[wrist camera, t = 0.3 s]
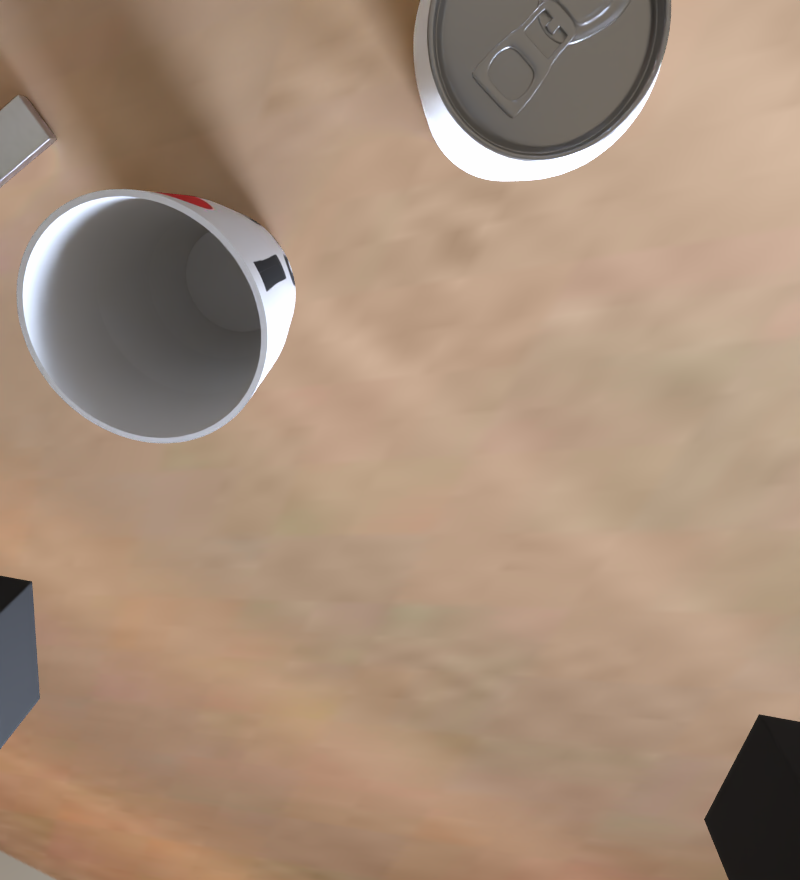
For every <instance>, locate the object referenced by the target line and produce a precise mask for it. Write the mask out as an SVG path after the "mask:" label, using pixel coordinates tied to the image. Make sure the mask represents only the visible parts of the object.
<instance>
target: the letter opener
mask: <svg viewBox="0 0 800 880" xmlns="http://www.w3.org/2000/svg"><path fill="white" fill-rule="evenodd" d="M56 140H57V138H56V137H55V135H54V134H53V133H52V131H51V130H50V129H49V127H48V126H47V124H46V123H45V122H44V120H43V119H42V118H41V116H40V115H39V114H38V112H37V111H36V110H35V108H34V107H33V106H32V104H31V103H30V102H29V100H28V99H27V98H26V97H25V96H21V95H17V96H16V97H15V98H13V99H12V100H11V101H10V102H9V103H8V104H7V105H6V106H4V107H3V108H2V109H1V110H0V188H1V187H2V186H3V185H4V184H5V183H7V182H8V181H9V180H10V179H11V178H12V177H14V176H15V175H16V174H17V173H18V172H19V171H21V170H22V169H23V168H24V167H25V166H27V165H28V164H29V163H30V162H31V161H32V160H34V159H35V158H36V157H37V156H38V155H39V154H41V153H42V152H43V151H44V150H45V149H47V148H48V147H49V146H50V145H51V144H52V143H54V142H55V141H56Z"/></svg>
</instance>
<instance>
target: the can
mask: <svg viewBox="0 0 800 880" xmlns="http://www.w3.org/2000/svg"><path fill="white" fill-rule="evenodd" d="M670 21H671V0H420V4H419V8H418V12H417V17H416V22H415V30H414V44H413V54H414V68H415V76H416V82H417V86H418V91H419V95H420V99H421V102H422V106H423V110H424V113H425V116H426V119H427V122H428V125H429V128H430V130H431V133H432V135H433V137H434V139H435V141H436V143H437V144H438V146H439V147H440V149H441V150H442V152H443V153H444V154H445V155H446V156H447V157H448V159H449V160H451V161H452V162H453V163H454V164H455V165H456V166H458V167H459V168H460V169H462V170H464V171H465V172H467V173H469V174H471V175H474V176H476V177H479V178H483V179H487V180H494V181H526V180H537V179H544V178H549V177H553V176H557V175H560V174H563V173H566V172H569V171H572V170H574V169H576V168H578V167H580V166H582V165H584V164H586V163H588V162H589V161H591V160H593V159H594V158H596V157H597V156H598V155H600V154H601V153H602V152H604V151H605V150H606V149H607V148H609V147H610V146H611V145H612V144H613V143H614V142H615V141H616V140H617V139H618V138H619V137H620V136H621V135H622V134H623V133H624V132H625V131H626V130H627V129H628V127H629V126H630V125H631V124H632V122H633V121H634V120H635V118H636V117H637V115H638V114H639V112H640V111H641V109H642V108H643V106H644V104H645V102H646V101H647V99H648V97H649V95H650V93H651V90H652V88H653V86H654V83H655V81H656V78H657V75H658V73H659V69H660V66H661V62H662V59H663V56H664V53H665V49H666V45H667V41H668V36H669V30H670Z"/></svg>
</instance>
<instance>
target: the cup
mask: <svg viewBox="0 0 800 880" xmlns="http://www.w3.org/2000/svg"><path fill="white" fill-rule="evenodd" d="M294 307H295V282H294V277H293V273H292V269H291V266H290V264H289V261H288V259H287V257H286V255H285V253H284V251H283V250H282V248H281V246H280V245H279V244H278V242H277V241H276V240H275V238H274V237H273V236H272V235H271V234H270V233H269V232H268V231H267V230H266V229H265V228H264V227H262V226H261V225H260V224H259V223H257V222H256V221H254V220H253V219H251V218H249V217H247V216H245V215H243V214H241V213H239V212H236V211H234V210H232V209H229V208H227V207H225V206H222V205H220V204H218V203H215V202H213V201H210V200H207V199H203V198H199V197H195V196H188V195H179V194H169V193H160V192H150V191H141V190H130V189H111V190H102V191H97V192H93V193H89V194H86V195H83V196H80V197H78V198H75V199H73V200H71V201H69V202H68V203H66V204H64V205H63V206H61V207H60V208H58V209H57V210H55V211H54V212H53V213H52V214H51V215H50V216H49V217H47V218H46V219H45V221H44V222H43V223H42V224H41V225H40V226H39V228H38V229H37V230H36V232H35V233H34V235H33V236H32V238H31V240H30V241H29V243H28V245H27V247H26V250H25V252H24V255H23V258H22V261H21V264H20V268H19V274H18V280H17V308H18V316H19V321H20V326H21V329H22V333H23V336H24V339H25V342H26V344H27V347H28V349H29V352H30V354H31V356H32V358H33V360H34V362H35V363H36V365H37V367H38V369H39V370H40V372H41V373H42V375H43V376H44V378H45V379H46V380H47V382H48V383H49V384H50V386H51V387H52V388H53V389H54V390H55V392H56V393H57V394H58V395H59V396H60V397H61V398H62V399H63V400H64V401H65V402H66V403H67V404H68V405H69V406H71V407H72V408H73V409H74V410H75V411H77V412H78V413H79V414H81V415H82V416H83V417H85V418H86V419H88V420H89V421H91V422H93V423H94V424H96V425H98V426H100V427H102V428H104V429H106V430H108V431H110V432H112V433H115V434H117V435H120V436H123V437H126V438H130V439H133V440H138V441H143V442H150V443H177V442H184V441H189V440H193V439H196V438H199V437H202V436H205V435H207V434H210V433H212V432H214V431H215V430H217V429H219V428H221V427H222V426H224V425H225V424H227V423H228V422H229V421H230V420H232V419H233V418H234V417H235V416H236V415H237V414H238V413H239V412H240V411H241V410H242V409H243V408H244V406H245V405H246V404H247V402H248V401H249V400H250V398H251V397H252V395H253V394H254V392H255V391H256V389H257V388H258V386H259V385H260V383H261V382H262V380H263V379H264V377H265V376H266V375H267V373H268V372H269V370H270V369H271V367H272V366H273V364H274V363H275V361H276V360H277V358H278V356H279V354H280V352H281V350H282V348H283V346H284V343H285V340H286V337H287V333H288V330H289V326H290V323H291V319H292V316H293V312H294Z"/></svg>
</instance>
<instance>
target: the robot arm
mask: <svg viewBox="0 0 800 880" xmlns="http://www.w3.org/2000/svg"><path fill="white" fill-rule="evenodd" d="M39 699H40V694H39V679H38V664H37V649H36V634H35V619H34V604H33V589H32V582H31V581H26V580H20V579H15V578H9V577H4V576H0V749H1V747H2V746H3V745H4V744H5V742H6V741H7V740H8V738H9V737H10V736H11V735H12V733H13V732H14V731H15V729H16V728H17V727H18V726H19V724H20V723H21V722H22V721H23V719H24V718H25V717H26V715H27V714H28V713H29V712H30V710H31V709H32V708H33V706H34V705H35V704H36V703H37V701H38V700H39ZM704 820H705V822H706V825H707V827H708V830H709V832H710V835H711V837H712V840H713V842H714V845H715V847H716V849H717V852H718V854H719V857H720V859H721V862H722V864H723V867H724V869H725V872H726V874H727V877H728V879H729V880H800V722H797V721H792V720H786V719H781V718H775V717H770V716H765V715H759V716H758V718H757V720H756V721H755V723H754V725H753V727H752V729H751V731H750V733H749V735H748V737H747V739H746V741H745V742H744V744H743V746H742V748H741V750H740V752H739V754H738V756H737V758H736V760H735V762H734V763H733V765H732V767H731V769H730V771H729V773H728V775H727V777H726V779H725V781H724V783H723V784H722V786H721V788H720V790H719V792H718V794H717V796H716V798H715V800H714V802H713V804H712V805H711V807H710V809H709V811H708V813H707V815H706V817H705V819H704Z"/></svg>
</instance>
